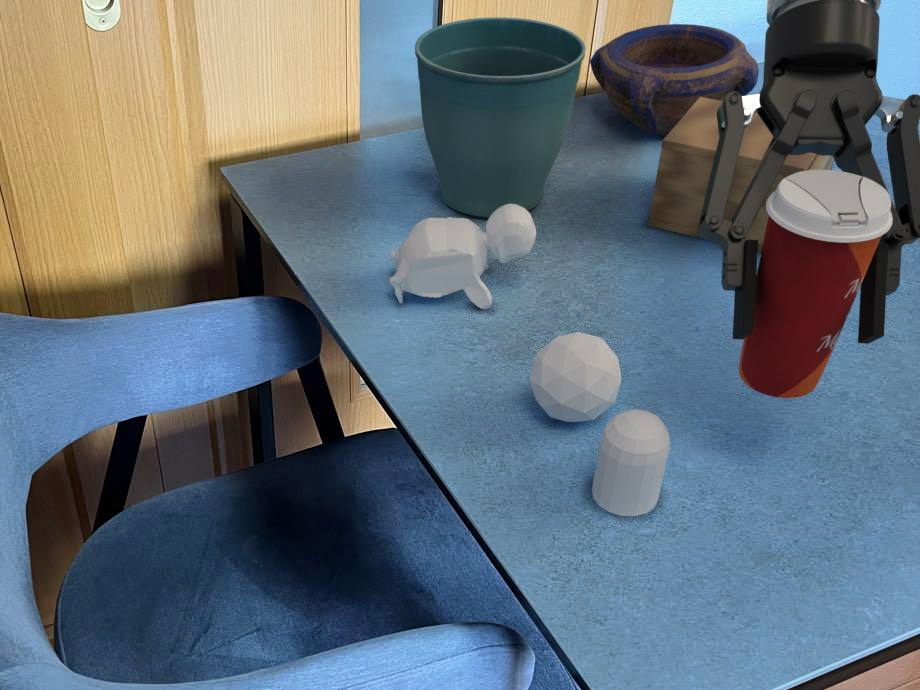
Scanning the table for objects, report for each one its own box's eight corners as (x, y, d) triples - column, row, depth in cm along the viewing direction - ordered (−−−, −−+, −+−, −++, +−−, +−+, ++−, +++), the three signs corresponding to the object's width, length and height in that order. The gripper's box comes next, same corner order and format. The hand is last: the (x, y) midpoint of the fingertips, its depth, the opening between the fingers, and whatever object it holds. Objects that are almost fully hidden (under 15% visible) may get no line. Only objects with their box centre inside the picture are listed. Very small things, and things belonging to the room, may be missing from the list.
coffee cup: (848, 406, 77) (918, 221, 66) (737, 408, 77) (790, 223, 66) (814, 342, 83) (874, 163, 72) (711, 344, 83) (756, 165, 72)
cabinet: (809, 206, 118) (834, 121, 111) (780, 257, 110) (805, 169, 103) (683, 179, 123) (700, 96, 116) (647, 225, 115) (662, 139, 109)
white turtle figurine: (411, 336, 106) (552, 287, 102) (379, 267, 101) (527, 213, 96) (410, 291, 112) (544, 244, 108) (380, 225, 107) (520, 172, 102)
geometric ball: (582, 448, 92) (603, 426, 84) (506, 402, 93) (520, 375, 85) (625, 379, 93) (650, 351, 85) (550, 333, 94) (567, 301, 86)
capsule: (672, 501, 83) (691, 423, 78) (620, 525, 81) (636, 447, 76) (628, 464, 87) (644, 387, 81) (578, 486, 85) (590, 409, 79)
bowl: (574, 101, 140) (583, 23, 133) (700, 89, 142) (715, 12, 135) (620, 158, 128) (632, 75, 121) (756, 144, 130) (776, 61, 123)
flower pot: (440, 153, 129) (443, 8, 118) (582, 172, 125) (600, 23, 113) (393, 220, 117) (392, 66, 105) (549, 243, 113) (565, 85, 101)
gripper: (949, 47, 77) (934, 352, 77) (661, 43, 78) (647, 342, 78) (1002, -7, 69) (986, 331, 69) (683, -9, 71) (667, 321, 71)
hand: (806, 337), depth 74 cm, fingers closed on coffee cup, 8 cm apart
